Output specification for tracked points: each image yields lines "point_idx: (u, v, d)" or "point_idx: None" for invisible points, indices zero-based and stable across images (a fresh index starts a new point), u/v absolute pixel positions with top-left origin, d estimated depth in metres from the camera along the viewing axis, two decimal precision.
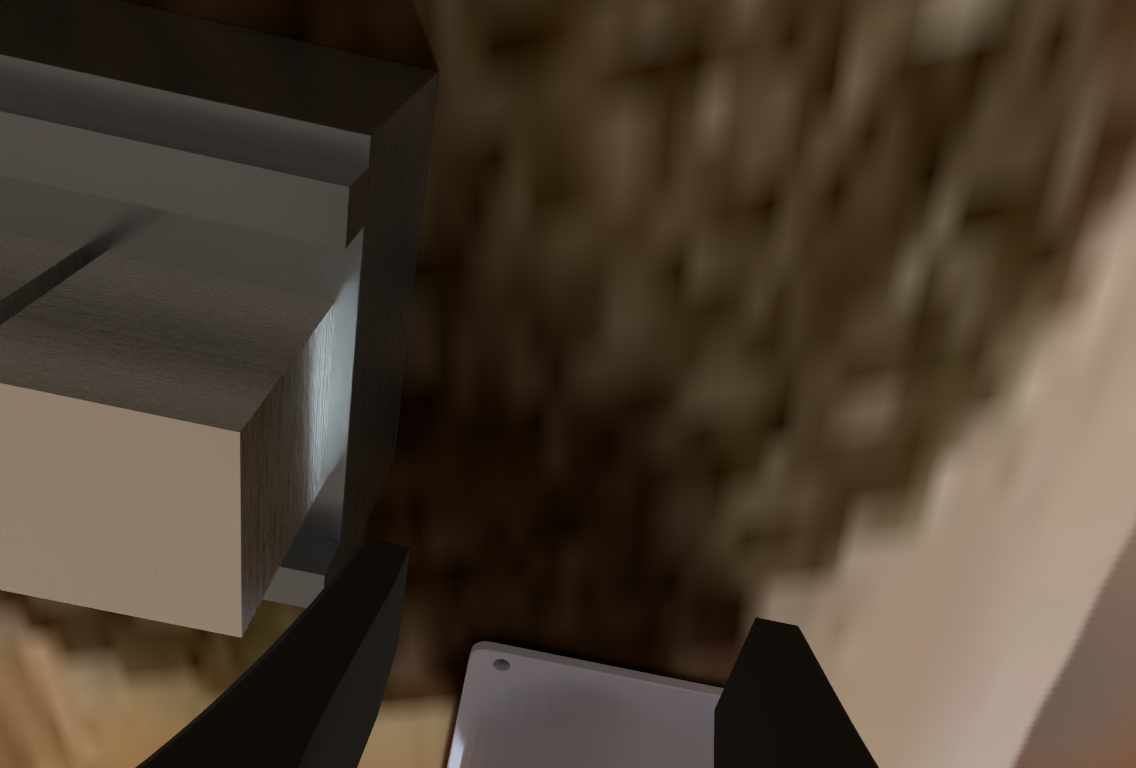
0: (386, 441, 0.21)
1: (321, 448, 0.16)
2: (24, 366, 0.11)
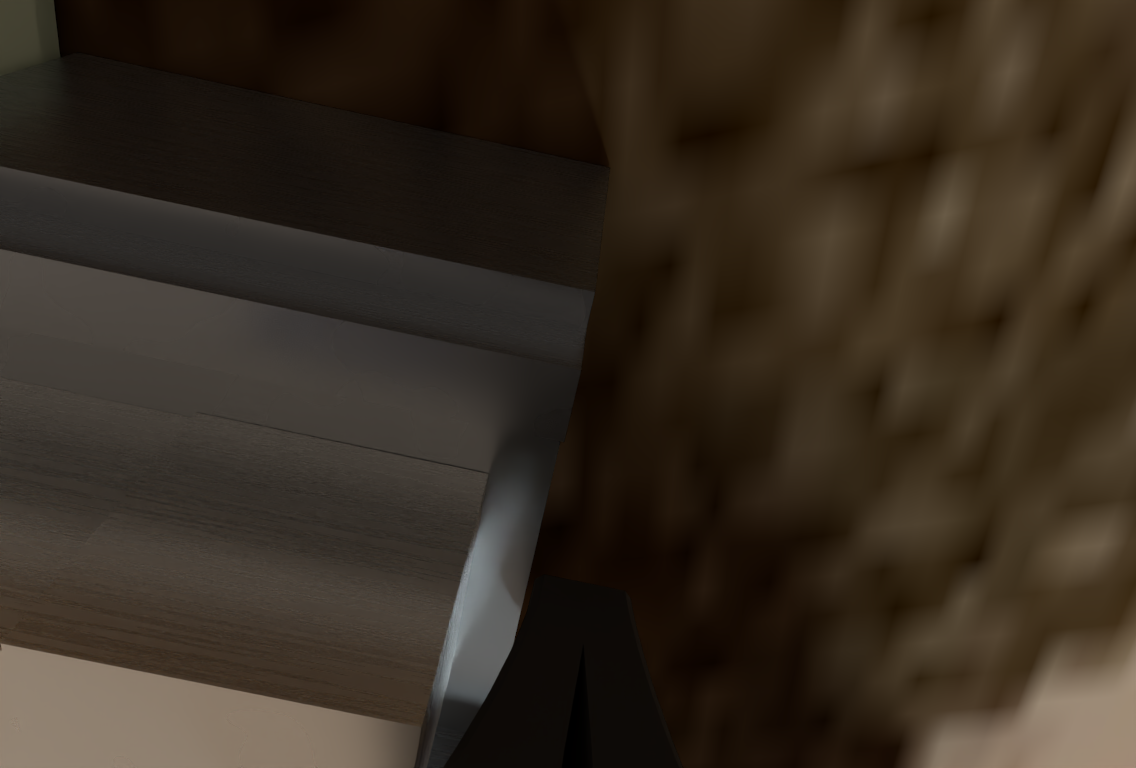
0: None
1: (456, 639, 0.13)
2: (119, 625, 0.08)
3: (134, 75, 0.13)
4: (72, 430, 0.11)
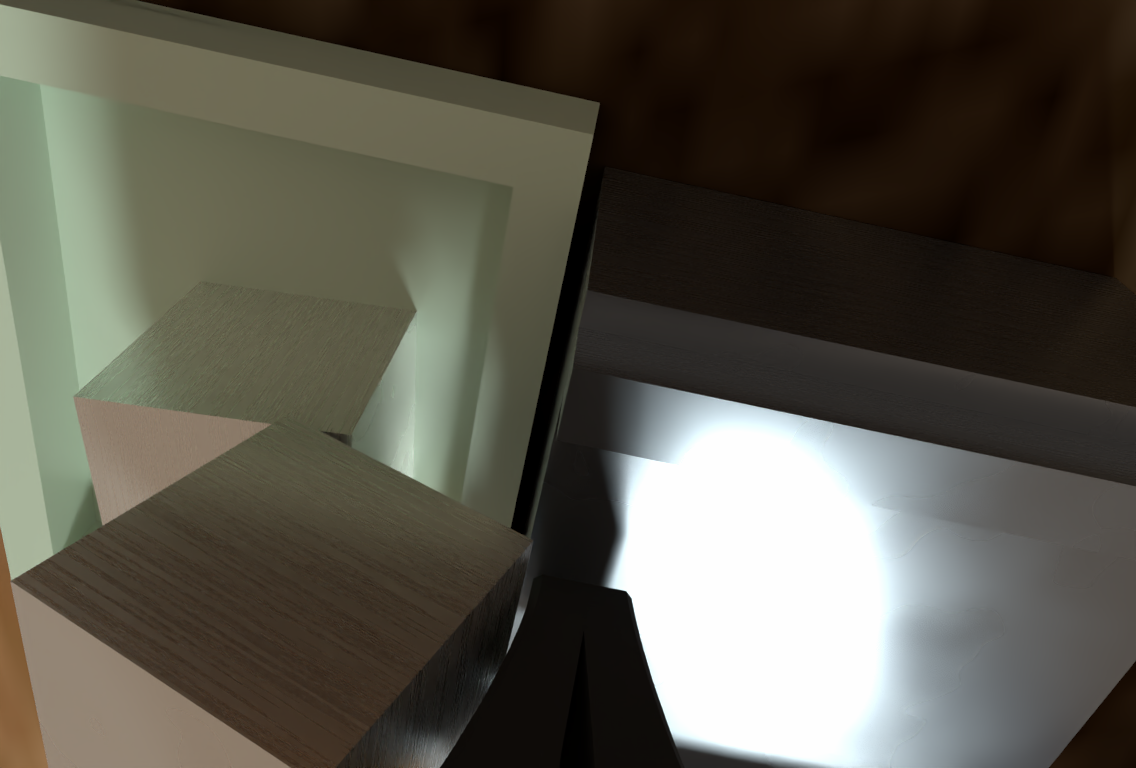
0: None
1: None
2: (109, 594, 0.09)
3: (677, 192, 0.14)
4: (326, 383, 0.13)
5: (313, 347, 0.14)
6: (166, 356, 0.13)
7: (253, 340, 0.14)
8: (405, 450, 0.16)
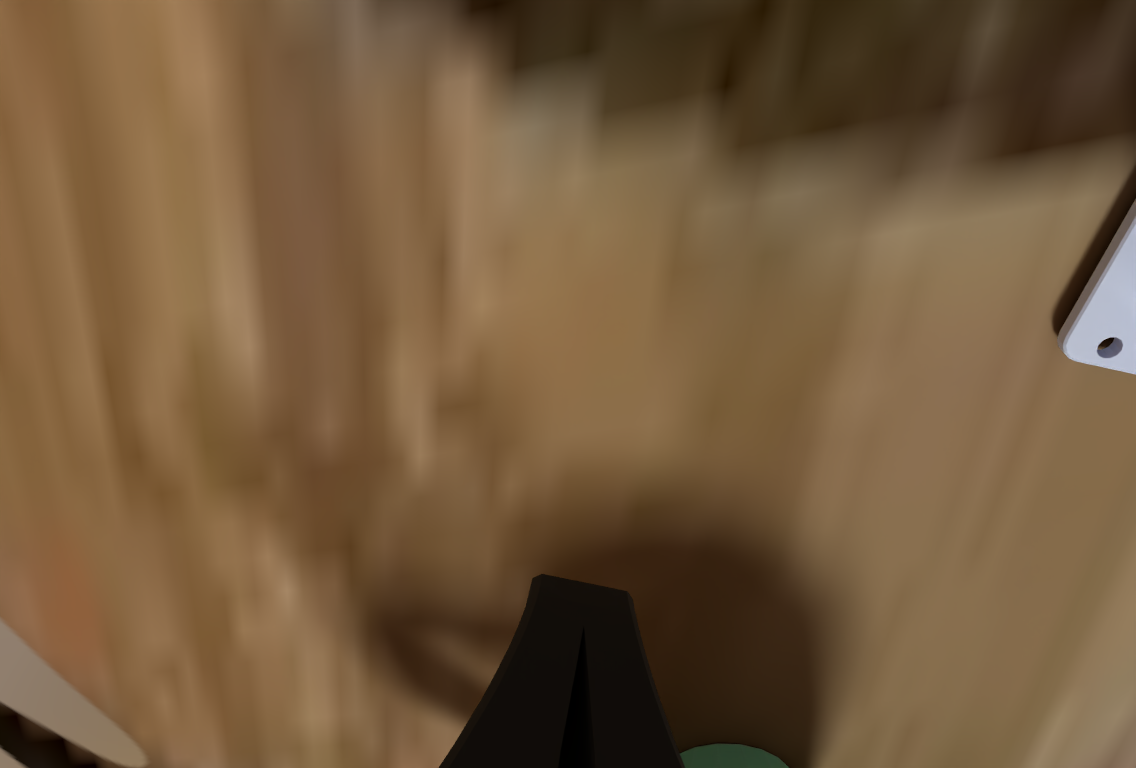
0: None
1: None
2: None
3: None
4: None
5: None
6: None
7: None
8: None
